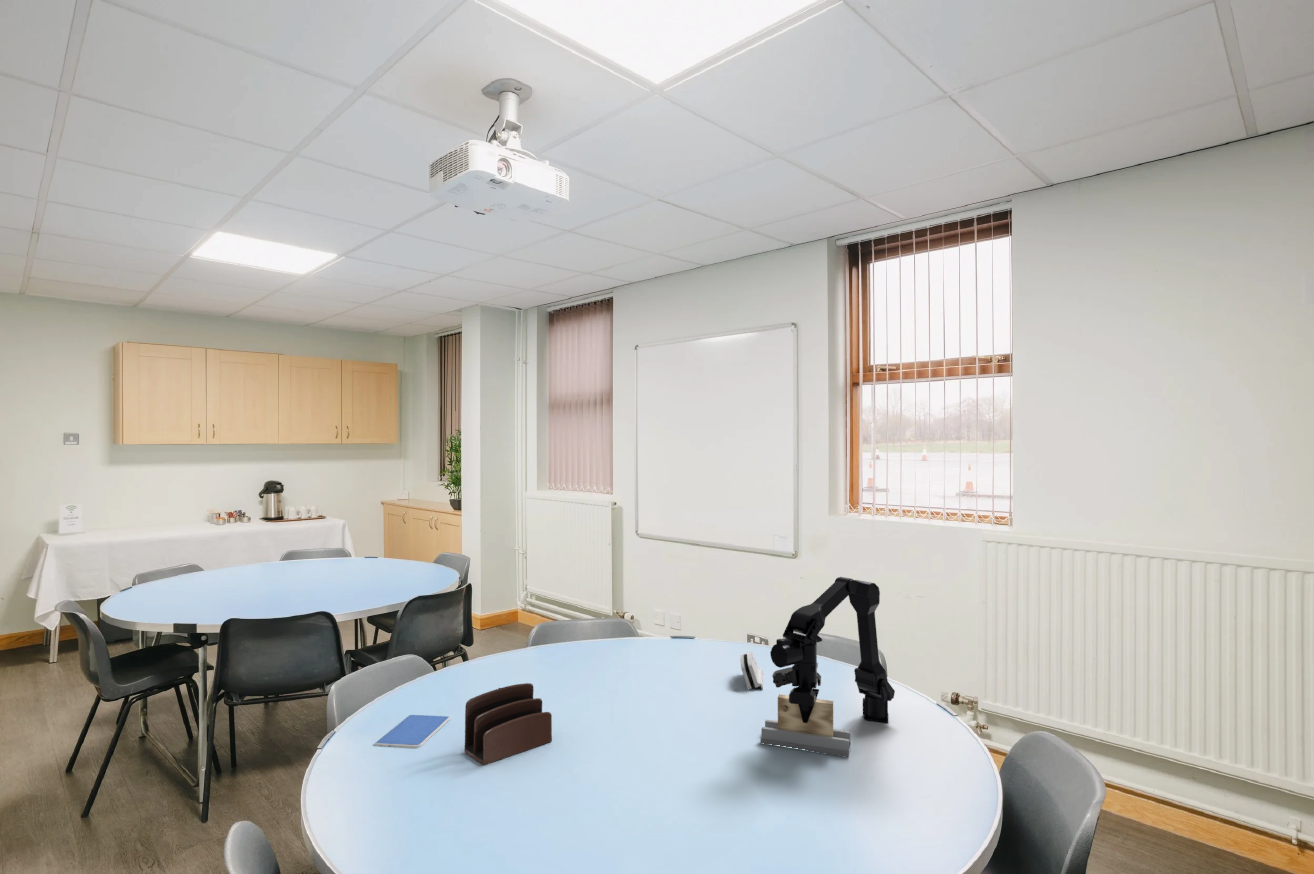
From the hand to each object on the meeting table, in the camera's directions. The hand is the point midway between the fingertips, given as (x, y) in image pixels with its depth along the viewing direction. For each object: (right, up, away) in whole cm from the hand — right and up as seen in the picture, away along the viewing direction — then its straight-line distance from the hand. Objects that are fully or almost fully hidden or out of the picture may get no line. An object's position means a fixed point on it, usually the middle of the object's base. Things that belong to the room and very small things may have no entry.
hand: (805, 720), depth 170 cm
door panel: (0, -3, 0) cm, 3 cm away
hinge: (-7, -8, +48) cm, 49 cm away
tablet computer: (-104, -6, +5) cm, 105 cm away
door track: (0, -6, 0) cm, 6 cm away
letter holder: (-77, -6, -4) cm, 77 cm away
